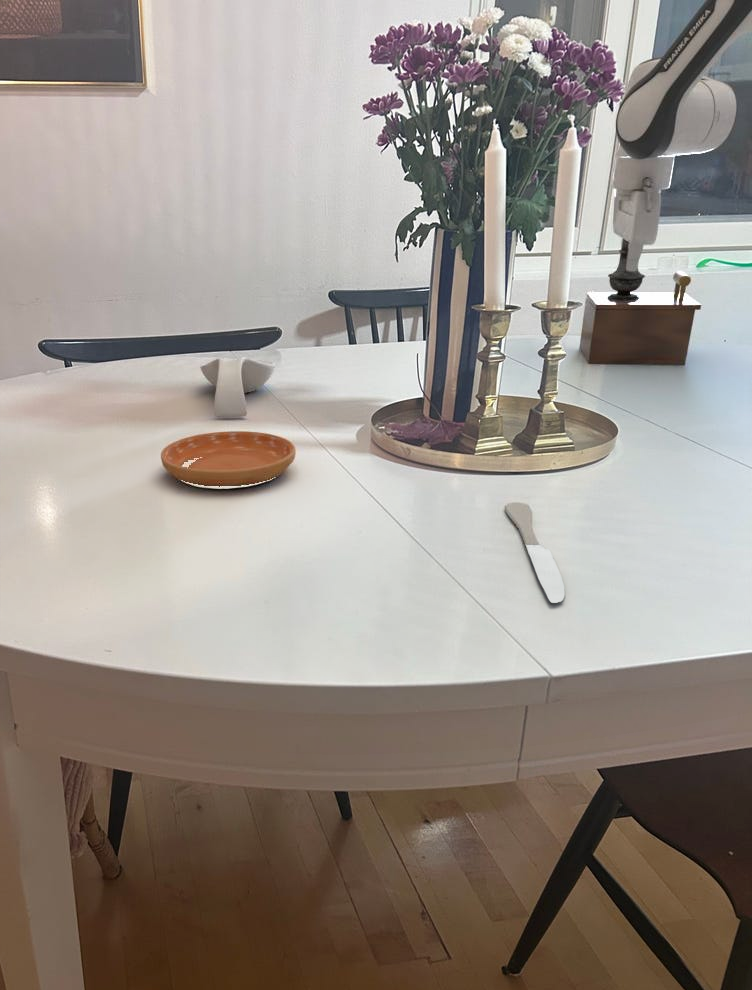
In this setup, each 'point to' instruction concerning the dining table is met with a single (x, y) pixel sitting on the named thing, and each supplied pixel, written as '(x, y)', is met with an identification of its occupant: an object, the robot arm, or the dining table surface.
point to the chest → (635, 336)
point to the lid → (650, 298)
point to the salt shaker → (624, 278)
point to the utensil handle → (522, 521)
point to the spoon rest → (235, 382)
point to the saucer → (229, 458)
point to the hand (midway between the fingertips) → (628, 268)
